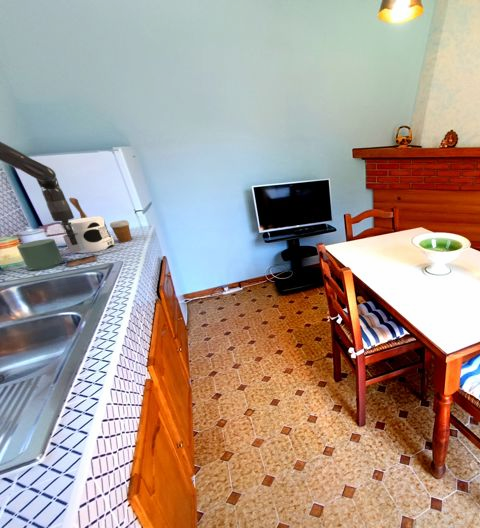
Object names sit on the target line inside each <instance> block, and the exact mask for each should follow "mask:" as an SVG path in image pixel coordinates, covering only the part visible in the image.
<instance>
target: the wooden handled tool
mask: <svg viewBox="0 0 480 528" xmlns="http://www.w3.org/2000/svg"><path fill="white" fill-rule="evenodd" d="M68 201H69V202H70V204H72V206H73V207H74V208H75V209H76V210H77V212H79V216H80V219H81V218H87V217H88V216H87V215H86V213H85V212H84V210H83V209H82V207H81V205H80V203H79V200H78V199H77V198H75V197H69V198H68Z"/></svg>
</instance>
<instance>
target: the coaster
mask: <svg viewBox="0 0 480 528" xmlns="http://www.w3.org/2000/svg"><path fill="white" fill-rule="evenodd" d="M97 261H98V259H97V258H96V256H95V255H89V256H85V257H80V258H76V259H72V260H67V261H66V263H67V267H68V268H73V267H78V266H81V265H85V264H89V263H95V262H97Z"/></svg>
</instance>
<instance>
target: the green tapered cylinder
mask: <svg viewBox="0 0 480 528" xmlns="http://www.w3.org/2000/svg"><path fill="white" fill-rule="evenodd" d="M16 247H17V250H18V252H19V254H20V256H21V257H22V260H23V262H24V263H25V265H26V268H27V269H28V270H27V272H40V271H45V270H50V269H54V268H57V267H59V266H62V265H64V264H65V263H66V261H63V260H64V258H63V256H62V254H61V251H60V249H59V246H58V245H57V243H56V240H55V239H54V238H44V239H38V240H33V241H27V242H24V243H21V244H19V245H17V246H16Z"/></svg>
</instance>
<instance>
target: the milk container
mask: <svg viewBox="0 0 480 528" xmlns="http://www.w3.org/2000/svg"><path fill="white" fill-rule="evenodd" d="M68 222H69V223H70V222H71V223H72V225H73V229H74V233H79V235H80V237H81V240H82V242H83V244H84V247H85V249H84V250H82V251H77V252H76V253H77V254H79V255H83V254H93V253H98V252H102V251H105V250H109V249H111V248H113V247H114V246H115V240H114V238H113V236H112V235H111V234H110V232H109V230H108V227H107V225H106V222H105V219H104V218H103V216H87V218H81V217H80V218H76V219H70V220H68Z"/></svg>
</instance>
